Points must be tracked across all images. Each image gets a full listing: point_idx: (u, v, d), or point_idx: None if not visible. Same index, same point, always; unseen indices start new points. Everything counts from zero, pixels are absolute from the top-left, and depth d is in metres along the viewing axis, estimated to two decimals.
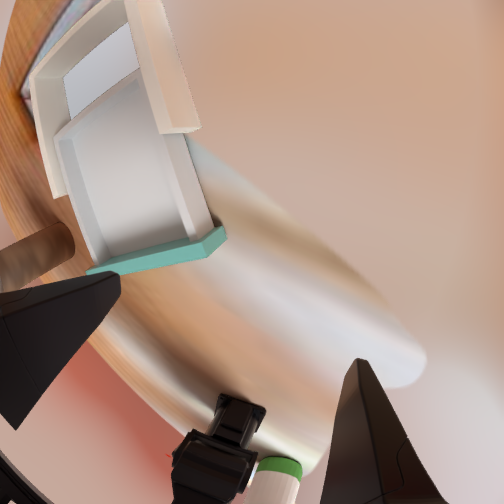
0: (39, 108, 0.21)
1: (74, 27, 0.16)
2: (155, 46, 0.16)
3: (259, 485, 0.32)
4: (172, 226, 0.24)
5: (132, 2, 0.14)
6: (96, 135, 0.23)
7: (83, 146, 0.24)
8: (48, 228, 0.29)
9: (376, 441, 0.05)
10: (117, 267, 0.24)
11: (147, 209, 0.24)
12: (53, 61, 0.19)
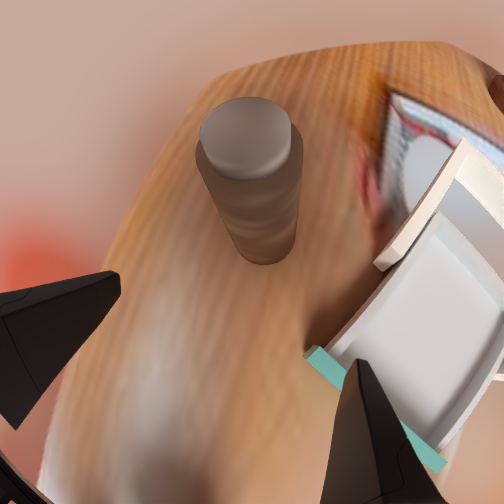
0: (455, 175, 0.20)
1: None
2: None
3: None
4: (416, 417, 0.17)
5: None
6: (452, 275, 0.20)
7: (434, 257, 0.21)
8: None
9: (376, 441, 0.05)
10: None
11: (420, 383, 0.18)
12: (487, 176, 0.20)
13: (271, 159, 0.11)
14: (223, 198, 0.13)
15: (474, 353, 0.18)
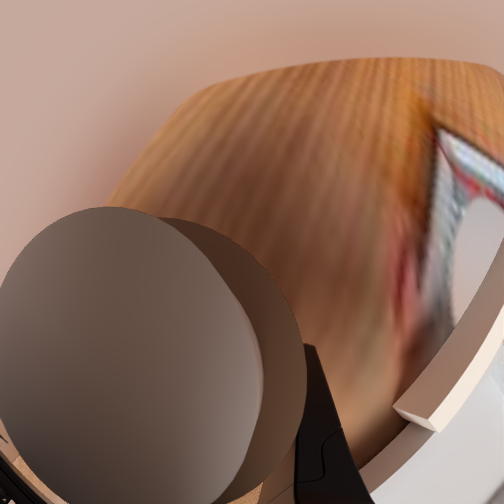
0: None
1: None
2: None
3: None
4: None
5: None
6: (490, 415, 0.10)
7: (476, 398, 0.11)
8: None
9: (302, 426, 0.05)
10: None
11: None
12: None
13: None
14: None
15: (487, 495, 0.08)
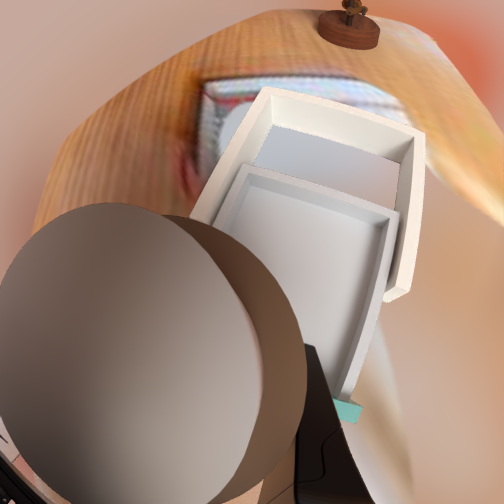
0: (255, 124, 0.24)
1: (354, 110, 0.23)
2: None
3: None
4: None
5: (421, 155, 0.21)
6: (288, 214, 0.23)
7: (261, 207, 0.24)
8: None
9: (302, 426, 0.05)
10: None
11: None
12: (302, 106, 0.25)
13: None
14: None
15: (351, 280, 0.21)
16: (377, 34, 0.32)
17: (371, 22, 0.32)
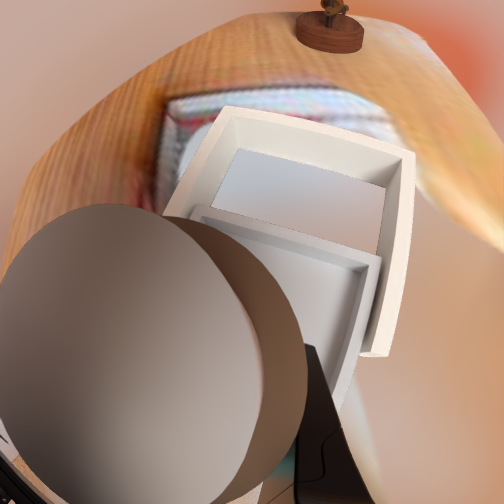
0: (211, 154, 0.21)
1: (330, 129, 0.21)
2: None
3: None
4: None
5: (410, 182, 0.19)
6: None
7: None
8: None
9: (302, 426, 0.05)
10: None
11: None
12: (268, 128, 0.22)
13: None
14: None
15: (322, 338, 0.18)
16: (361, 35, 0.30)
17: (355, 22, 0.30)
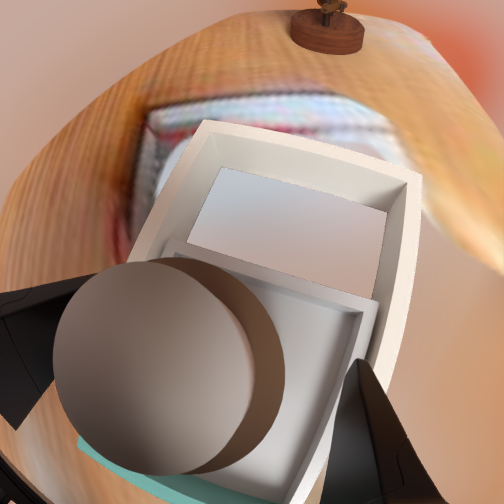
0: (185, 179, 0.18)
1: (323, 147, 0.18)
2: None
3: None
4: (250, 480, 0.14)
5: (415, 212, 0.16)
6: None
7: None
8: None
9: (376, 441, 0.05)
10: (148, 483, 0.12)
11: None
12: (252, 146, 0.20)
13: None
14: None
15: (308, 388, 0.16)
16: (361, 35, 0.27)
17: (354, 21, 0.28)
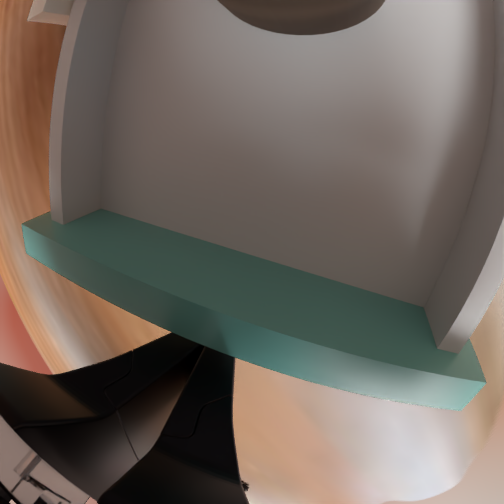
0: None
1: None
2: None
3: None
4: (365, 248, 0.08)
5: None
6: None
7: None
8: None
9: (190, 387, 0.06)
10: (126, 288, 0.07)
11: (315, 153, 0.07)
12: None
13: None
14: None
15: (454, 20, 0.04)
16: None
17: None
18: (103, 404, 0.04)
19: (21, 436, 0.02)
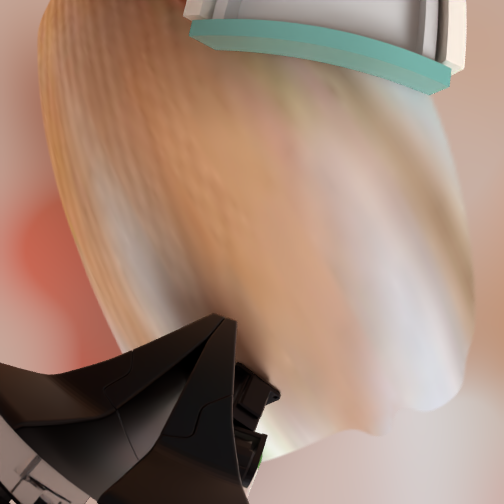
0: None
1: None
2: None
3: None
4: (377, 39, 0.13)
5: None
6: None
7: None
8: None
9: (190, 387, 0.06)
10: (278, 27, 0.12)
11: (350, 6, 0.12)
12: None
13: None
14: None
15: None
16: None
17: None
18: (103, 404, 0.04)
19: (21, 436, 0.02)
